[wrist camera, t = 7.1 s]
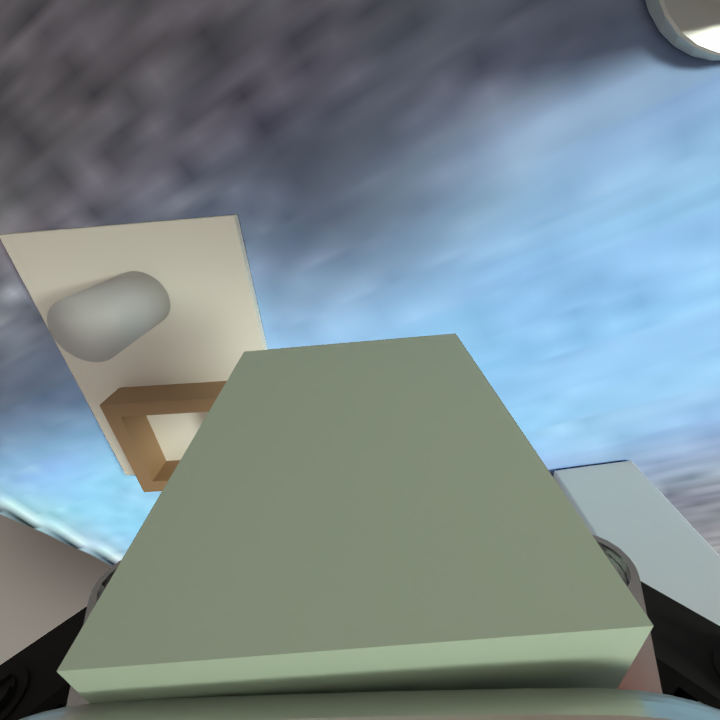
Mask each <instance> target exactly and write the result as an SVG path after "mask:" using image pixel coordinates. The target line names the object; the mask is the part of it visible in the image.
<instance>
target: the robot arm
mask: <svg viewBox="0 0 720 720" xmlns="http://www.w3.org/2000/svg"><path fill="white" fill-rule="evenodd" d="M646 4H647V7H648V11H649V13H650V15H651V17H652V19H653V20H654V22H655V24H656V26H657V28H658V30H659V31H660V33H661V34H662V35H663V36H664V37H665V38H666V39H667V40H668V41H669V42H670V43H671V44H672V45H673V46H674V47H676V48H678V49H679V50H681V51H683V52H685V53H687V54H688V55H690V56H693V57H697V58H702V59H706V60H711V61H716V60H720V0H646ZM593 537H594V538H595V540H596V541H597V543H598V544H599V546H600V547H601V549H602V550H603V552H604V553H605V555H606V556H607V558H608V559H609V561H610V562H611V564H612V565H613V566H614V568H615V569H616V571H617V572H618V574H619V575H620V577H621V578H622V580H623V581H624V583H625V584H626V586H627V587H628V589H629V590H630V592H631V593H632V595H633V596H634V597H635V599H636V600H637V602H638V603H639V605H640V606H641V608H642V609H643V611H644V612H645V614H646V615H647V617H648V618H649V620H650V621H651V623H652V624H653V628H652V630H651V631H650V633H649V635H648V637H647V638H646V640H645V642H644V643H643V645H642V647H641V649H640V650H639V652H638V654H637V656H636V657H635V659H634V661H633V662H632V664H631V666H630V668H629V669H628V671H627V673H626V674H625V676H624V678H623V680H622V681H621V683H620V685H619V686H618V688H617V689H605V688H517V689H472V690H427V691H387V692H350V693H315V694H280V695H250V696H220V697H190V698H165V699H147V700H132V701H117V702H103V703H93V704H89V703H88V702H87V701H86V700H85V699H84V698H83V697H82V696H81V695H80V694H79V693H78V692H77V691H76V690H75V689H74V688H73V687H72V686H71V685H70V684H69V683H68V682H67V681H66V680H65V679H64V678H63V677H62V676H61V675H60V674H59V673H58V672H57V670H58V668H59V666H60V665H61V663H62V661H63V659H64V658H65V656H66V654H67V653H68V651H69V649H70V648H71V646H72V644H73V642H74V641H75V639H76V637H77V636H78V634H79V632H80V630H81V629H82V627H83V625H84V624H85V622H86V620H87V619H88V617H89V615H90V613H91V612H92V610H93V608H94V607H95V605H96V603H97V601H98V600H99V598H100V596H101V595H102V593H103V591H104V590H105V588H106V586H107V584H108V583H109V581H110V579H111V578H112V576H113V574H114V572H115V571H116V569H117V567H118V566H119V564H120V562H121V561H122V560H121V561H119V562H118V563H116V564H115V565H113V566H112V567H111V568H109V569H108V570H107V571H106V572H105V573H104V574H103V575H102V577H100V578H99V580H98V581H97V583H96V584H95V586H94V587H93V589H92V592H91V594H90V597H89V600H88V605H87V607H85V608H84V609H83V610H81V611H80V612H78V613H77V614H75V615H74V616H72V617H71V618H69V619H68V620H66V621H65V622H63V623H62V624H61V625H59V626H57V627H56V628H54V629H53V630H52V631H50V632H49V633H47V634H46V635H44V636H43V637H41V638H40V639H38V640H37V641H35V642H34V643H33V644H31V645H29V646H28V647H26V648H25V649H24V650H22V651H21V652H19V653H18V654H16V655H15V656H13V657H12V658H10V659H9V660H7V661H6V662H4V663H3V664H1V665H0V720H720V626H719V625H717V624H715V623H714V622H712V621H710V620H708V619H707V618H705V617H703V616H701V615H700V614H698V613H696V612H694V611H693V610H691V609H689V608H687V607H686V606H684V605H682V604H680V603H678V602H677V601H675V600H673V599H671V598H670V597H668V596H666V595H664V594H663V593H661V592H659V591H657V590H656V589H654V588H652V587H650V586H649V585H647V584H645V583H643V582H642V581H640V577H639V574H638V571H637V569H636V566H635V565H634V563H633V562H632V561H631V559H630V558H629V557H628V556H627V555H626V554H625V553H624V552H623V551H622V550H621V549H620V548H619V547H617V546H616V545H614V544H612V543H611V542H609V541H608V540H605V539H603V538H600V537H598V536H595V535H593Z"/></svg>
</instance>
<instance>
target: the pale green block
mask: <svg viewBox="0 0 720 720" xmlns="http://www.w3.org/2000/svg"><path fill="white" fill-rule="evenodd" d="M652 628H653V624H652V623H651V621H650V620H649V618H648V617H647V615H646V614H645V612H644V611H643V609H642V608H641V606H640V605H639V603H638V602H637V600H636V599H635V597H634V596H633V595H632V593H631V592H630V590H629V589H628V587H627V586H626V584H625V583H624V581H623V580H622V578H621V577H620V575H619V574H618V572H617V571H616V569H615V568H614V566H613V565H612V564H611V562H610V561H609V559H608V558H607V556H606V555H605V553H604V552H603V550H602V549H601V547H600V546H599V544H598V543H597V541H596V540H595V538H594V537H593V535H592V534H591V533H590V531H589V530H588V528H587V527H586V525H585V524H584V522H583V521H582V519H581V518H580V516H579V515H578V513H577V512H576V510H575V509H574V507H573V506H572V504H571V503H570V502H569V500H568V499H567V497H566V496H565V494H564V493H563V491H562V490H561V488H560V487H559V485H558V484H557V482H556V481H555V479H554V478H553V476H552V475H551V473H550V472H549V471H548V469H547V468H546V466H545V465H544V463H543V462H542V460H541V459H540V457H539V456H538V454H537V453H536V451H535V450H534V448H533V447H532V445H531V444H530V442H529V441H528V440H527V438H526V437H525V435H524V434H523V432H522V431H521V429H520V428H519V426H518V425H517V423H516V422H515V420H514V419H513V417H512V416H511V414H510V413H509V412H508V410H507V409H506V407H505V406H504V404H503V403H502V401H501V400H500V398H499V397H498V395H497V394H496V392H495V391H494V389H493V388H492V386H491V385H490V383H489V382H488V381H487V379H486V378H485V376H484V375H483V373H482V372H481V370H480V369H479V367H478V366H477V364H476V363H475V361H474V360H473V358H472V357H471V355H470V354H469V352H468V351H467V350H466V348H465V347H464V345H463V344H462V342H461V341H460V339H459V338H458V336H457V335H456V334H445V335H433V336H421V337H409V338H397V339H386V340H374V341H362V342H350V343H339V344H327V345H315V346H303V347H292V348H280V349H268V350H256V351H244V353H243V354H242V356H241V358H240V359H239V361H238V363H237V364H236V366H235V368H234V370H233V371H232V373H231V375H230V376H229V378H228V380H227V382H226V383H225V385H224V387H223V388H222V390H221V392H220V393H219V395H218V397H217V399H216V400H215V402H214V404H213V405H212V407H211V409H210V411H209V412H208V414H207V416H206V417H205V419H204V421H203V422H202V424H201V426H200V428H199V429H198V431H197V433H196V434H195V436H194V438H193V440H192V441H191V443H190V445H189V446H188V448H187V450H186V451H185V453H184V455H183V457H182V458H181V460H180V462H179V463H178V465H177V467H176V468H175V470H174V472H173V474H172V475H171V477H170V479H169V480H168V482H167V484H166V486H165V487H164V489H163V491H162V492H161V494H160V496H159V497H158V499H157V501H156V503H155V504H154V506H153V508H152V509H151V511H150V513H149V515H148V516H147V518H146V520H145V521H144V523H143V525H142V526H141V528H140V530H139V532H138V533H137V535H136V537H135V538H134V540H133V542H132V544H131V545H130V547H129V549H128V550H127V552H126V554H125V555H124V557H123V559H122V561H121V562H120V564H119V566H118V567H117V569H116V571H115V572H114V574H113V576H112V578H111V579H110V581H109V583H108V584H107V586H106V588H105V590H104V591H103V593H102V595H101V596H100V598H99V600H98V601H97V603H96V605H95V607H94V608H93V610H92V612H91V613H90V615H89V617H88V619H87V620H86V622H85V624H84V625H83V627H82V629H81V630H80V632H79V634H78V636H77V637H76V639H75V641H74V642H73V644H72V646H71V648H70V649H69V651H68V653H67V654H66V656H65V658H64V659H63V661H62V663H61V665H60V666H59V668H58V670H57V672H58V673H59V674H60V675H61V676H62V677H63V678H64V679H65V680H66V681H67V682H68V683H69V684H70V685H71V686H72V687H73V688H74V689H75V690H76V691H77V692H78V693H79V694H80V695H81V696H82V697H83V698H84V699H85V700H86V701H87V702H88V703H89V704H93V703H103V702H117V701H132V700H147V699H165V698H190V697H220V696H250V695H280V694H315V693H350V692H387V691H427V690H472V689H517V688H605V689H617V688H618V686H619V685H620V683H621V681H622V680H623V678H624V676H625V674H626V673H627V671H628V669H629V668H630V666H631V664H632V662H633V661H634V659H635V657H636V656H637V654H638V652H639V650H640V649H641V647H642V645H643V643H644V642H645V640H646V638H647V637H648V635H649V633H650V631H651V630H652Z"/></svg>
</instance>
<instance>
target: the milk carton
mask: <svg viewBox="0 0 720 720" xmlns="http://www.w3.org/2000/svg"><path fill="white" fill-rule="evenodd" d="M553 478H554V479H555V481H556V482H557V484H558V485H559V487H560V488H561V490H562V491H563V493H564V494H565V496H566V497H567V499H568V500H569V502H570V503H571V504H572V506H573V507H574V509H575V510H576V512H577V513H578V515H579V516H580V518H581V519H582V521H583V522H584V524H585V525H586V527H587V528H588V530H589V531H590V533H591V534H592V535H595V536H598V537H600V538H603V539H605V540H608V541H609V542H611V543H612V544H614V545H616V546H617V547H619V548H620V549H621V550H622V551H623V552H624V553H625V554H626V555H627V556H628V557H629V558H630V559H631V561H632V562H633V563H634V565H635V566H636V569H637V571H638V574H639V577H640V581H642V582H643V583H645V584H647V585H649V586H650V587H652V588H654V589H656V590H657V591H659V592H661V593H663V594H664V595H666V596H668V597H670V598H671V599H673V600H675V601H677V602H678V603H680V604H682V605H684V606H686V607H687V608H689V609H691V610H693V611H694V612H696V613H698V614H700V615H701V616H703V617H705V618H707V619H708V620H710V621H712V622H714V623H715V624H717V625H719V626H720V556H719V555H718V553H717V552H716V551H715V550H714V549H713V548H712V547H711V546H710V545H709V544H708V543H707V542H706V541H705V539H704V538H703V537H702V536H701V535H700V534H699V533H698V532H697V531H696V530H695V529H694V528H693V527H692V525H691V524H690V523H689V522H688V521H687V520H686V519H685V518H684V517H683V516H682V515H681V514H680V513H679V512H678V510H677V509H676V508H675V507H674V506H673V505H672V504H671V503H670V502H669V501H668V500H667V499H666V498H665V496H664V495H663V494H662V493H661V492H660V491H659V490H658V489H657V488H656V487H655V486H654V485H653V484H652V482H651V481H650V480H649V479H648V478H647V477H646V476H645V475H644V474H643V473H642V472H641V471H640V470H639V468H638V467H637V466H636V465H635V464H634V463H633V462H632V461H624V462H616V463H608V464H601V465H593V466H586V467H578V468H571V469H563V470H556V471H554V476H553Z"/></svg>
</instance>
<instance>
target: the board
mask: <svg viewBox="0 0 720 720" xmlns="http://www.w3.org/2000/svg"><path fill="white" fill-rule="evenodd" d="M0 239H1V241H2V243H3V245H4V246H5V248H6V250H7V252H8V254H9V256H10V258H11V260H12V262H13V263H14V265H15V267H16V269H17V271H18V273H19V275H20V277H21V278H22V280H23V282H24V284H25V286H26V288H27V290H28V292H29V293H30V295H31V297H32V299H33V301H34V303H35V305H36V307H37V309H38V310H39V312H40V314H41V316H42V318H43V320H44V322H45V324H46V325H47V327H48V329H49V331H50V333H51V335H52V337H53V339H54V340H55V342H56V344H57V346H58V348H59V350H60V352H61V354H62V356H63V357H64V359H65V361H66V363H67V365H68V367H69V369H70V371H71V372H72V374H73V376H74V378H75V380H76V382H77V384H78V386H79V387H80V389H81V391H82V393H83V395H84V397H85V399H86V401H87V403H88V404H89V406H90V408H91V410H92V412H93V414H94V416H95V418H96V419H97V421H98V423H99V425H100V427H101V429H102V431H103V433H104V435H105V436H106V438H107V440H108V442H109V444H110V446H111V448H112V450H113V451H114V453H115V455H116V457H117V459H118V461H119V463H120V465H121V466H122V468H123V470H124V472H125V474H126V475H136V477H137V479H138V481H139V483H140V485H141V487H142V489H143V491H144V492H153V491H163V489H164V487H165V486H166V484H167V482H168V480H169V479H170V477H171V475H172V474H173V472H174V470H175V468H176V467H177V465H178V463H179V462H180V460H181V458H182V457H183V455H184V453H185V451H186V450H187V448H188V446H189V445H190V443H191V441H192V440H193V438H194V436H195V434H196V433H197V431H198V429H199V428H200V426H201V424H202V422H203V421H204V419H205V417H206V416H207V414H208V412H209V411H210V409H211V407H212V405H213V404H214V402H215V400H216V399H217V397H218V395H219V393H220V392H221V390H222V388H223V387H224V385H225V383H226V382H227V380H228V378H229V376H230V375H231V373H232V371H233V370H234V368H235V366H236V364H237V363H238V361H239V359H240V358H241V356H242V354H243V353H244V351H256V350H268V349H267V344H266V340H265V336H264V331H263V327H262V322H261V318H260V313H259V309H258V304H257V300H256V295H255V291H254V286H253V282H252V277H251V273H250V268H249V264H248V259H247V255H246V250H245V246H244V241H243V237H242V232H241V228H240V223H239V219H238V215H237V214H236V215H224V216H212V217H200V218H188V219H176V220H164V221H152V222H140V223H128V224H116V225H105V226H93V227H81V228H69V229H57V230H45V231H33V232H21V233H9V234H3V235H0Z"/></svg>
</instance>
